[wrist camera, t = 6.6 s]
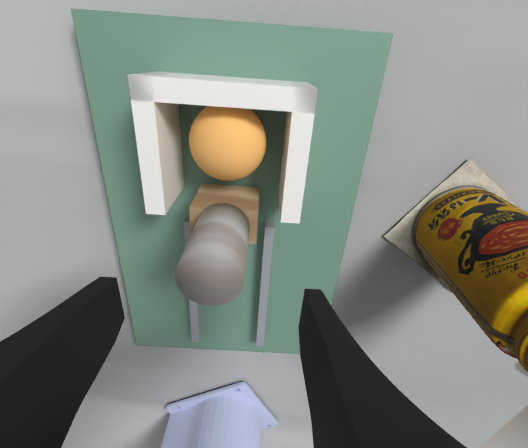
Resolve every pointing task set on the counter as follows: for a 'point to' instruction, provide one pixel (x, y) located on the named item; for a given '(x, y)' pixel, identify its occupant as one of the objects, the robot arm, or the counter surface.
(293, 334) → the pitch
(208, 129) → the ball
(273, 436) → the counter surface
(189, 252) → the grey and tan mallet
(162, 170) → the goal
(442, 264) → the condiment
